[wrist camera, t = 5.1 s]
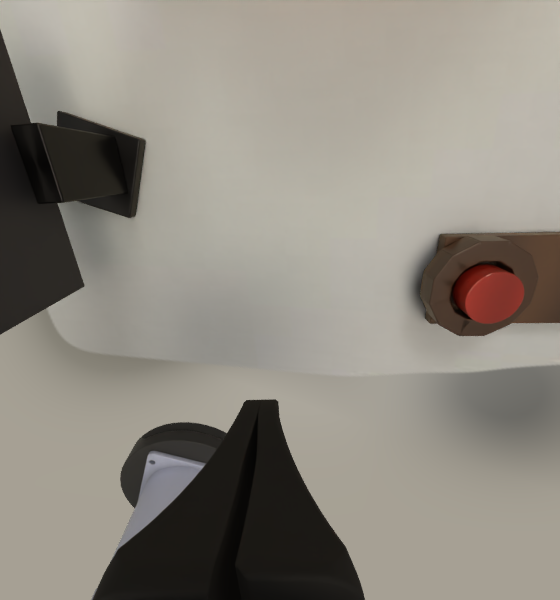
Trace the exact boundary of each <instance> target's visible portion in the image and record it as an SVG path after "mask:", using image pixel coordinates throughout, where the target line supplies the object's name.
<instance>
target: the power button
mask: <svg viewBox="0 0 560 600" xmlns="http://www.w3.org/2000/svg"><path fill="white" fill-rule="evenodd" d="M523 298H524V286H523V283H522V282H521V280H520V279H519V278H518V277H517V276H516V275H514V274H512V273H510V272H508V271H506V270H504V269H501V268H499V267H497V266H495V265H490V264H483V265H478V266H475V267H472V268H470V269H468V270H467V271H465V272H464V273H463V274H462V275H461V276H460V277H459V278H458V280H457V281H456V283H455V285H454V288H453V300H454V302H455V304H456V306H457V307H458V308H459V309H460V310H462V311H463V312H464V313H465V314H466V315H468V316H469V317H470V318H471V319H473V320H474V321H476V322H479V323H484V324H492V323H497V322H500V321H502V320H504V319H506V318H508V317H510V316H511V315H512V314H513V313H514V312H515V311H516V310H517V309H518V308H519V306H520V305H521V303H522V301H523Z"/></svg>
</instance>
